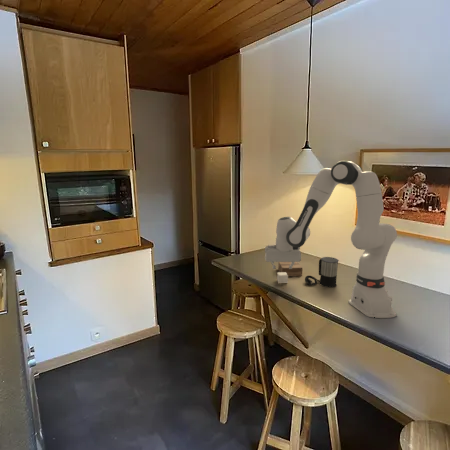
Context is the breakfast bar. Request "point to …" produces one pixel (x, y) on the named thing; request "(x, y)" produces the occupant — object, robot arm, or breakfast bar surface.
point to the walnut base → (294, 271)
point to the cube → (282, 277)
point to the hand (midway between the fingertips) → (282, 268)
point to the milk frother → (326, 272)
